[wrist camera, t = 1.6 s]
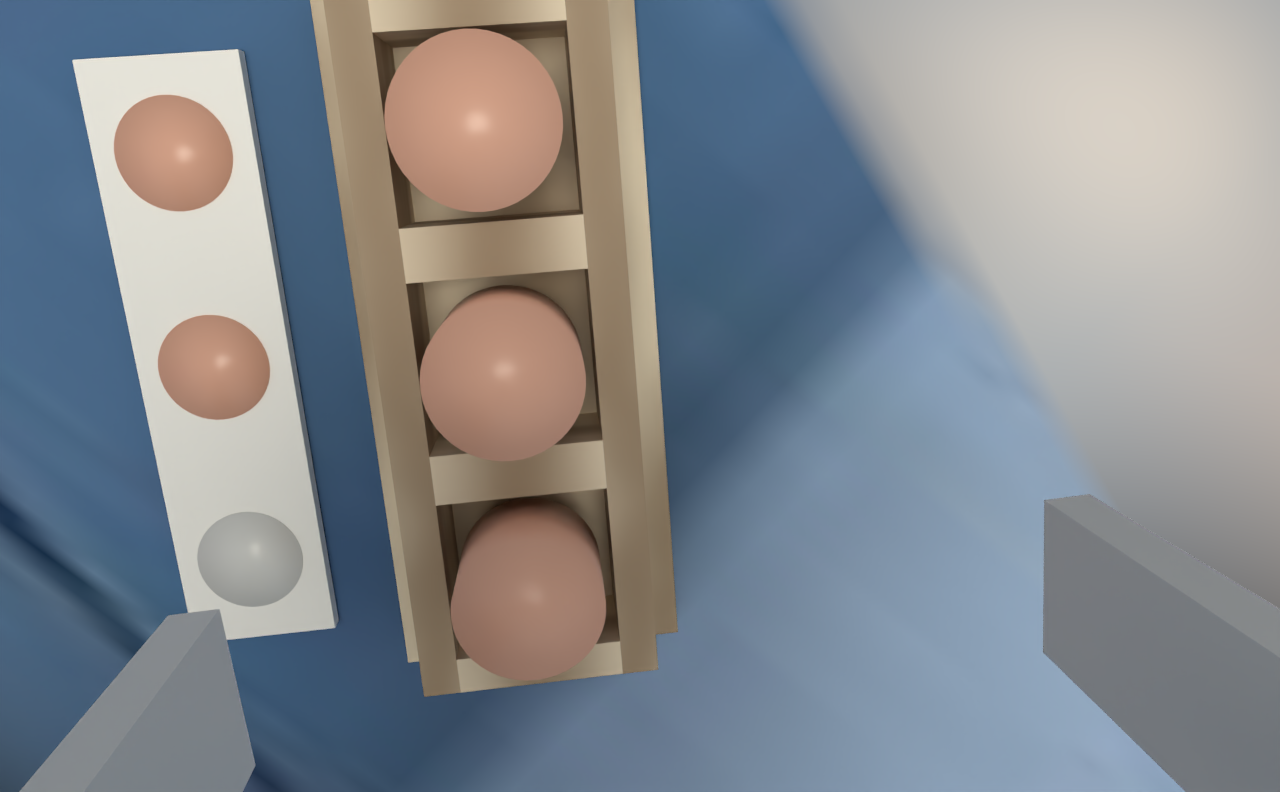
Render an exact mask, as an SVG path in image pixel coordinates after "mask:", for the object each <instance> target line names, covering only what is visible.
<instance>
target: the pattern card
mask: <svg viewBox="0 0 1280 792" xmlns="http://www.w3.org/2000/svg"><path fill="white" fill-rule="evenodd" d="M72 61H73V66H74V70H75V75H76V80H77V85H78V89H79V94H80V99H81V104H82V109H83V113H84V118H85V123H86V128H87V132H88V137H89V142H90V147H91V151H92V156H93V161H94V166H95V171H96V175H97V180H98V185H99V190H100V194H101V199H102V204H103V209H104V214H105V218H106V223H107V228H108V233H109V237H110V242H111V247H112V252H113V256H114V261H115V266H116V271H117V276H118V280H119V285H120V290H121V295H122V299H123V304H124V309H125V314H126V319H127V323H128V328H129V333H130V338H131V342H132V347H133V352H134V357H135V361H136V366H137V371H138V376H139V381H140V385H141V390H142V395H143V400H144V404H145V409H146V414H147V419H148V424H149V428H150V433H151V438H152V443H153V447H154V452H155V457H156V462H157V466H158V471H159V476H160V481H161V486H162V490H163V495H164V500H165V505H166V509H167V514H168V519H169V524H170V529H171V533H172V538H173V543H174V548H175V552H176V557H177V562H178V567H179V571H180V576H181V581H182V586H183V591H184V595H185V600H186V605H187V610H188V613H191V612H199V611H207V610H214V609H220V613H221V617H222V622H223V626H224V630H225V635H226V639H227V640H230V639H239V638H249V637H258V636H267V635H276V634H285V633H294V632H303V631H312V630H321V629H330V628H335V627H336V625H337V623H338V621H339V618H338V612H337V606H336V600H335V594H334V588H333V582H332V576H331V570H330V564H329V558H328V552H327V546H326V540H325V534H324V528H323V522H322V516H321V510H320V504H319V498H318V492H317V486H316V480H315V474H314V468H313V462H312V456H311V450H310V444H309V438H308V432H307V426H306V420H305V414H304V408H303V402H302V396H301V390H300V384H299V378H298V372H297V366H296V360H295V354H294V348H293V342H292V336H291V330H290V324H289V318H288V312H287V306H286V300H285V294H284V288H283V282H282V276H281V270H280V264H279V258H278V252H277V246H276V240H275V234H274V228H273V222H272V216H271V210H270V204H269V198H268V192H267V186H266V180H265V174H264V168H263V162H262V156H261V150H260V144H259V138H258V132H257V126H256V120H255V114H254V108H253V102H252V96H251V90H250V84H249V78H248V72H247V66H246V60H245V54H244V51H241V50H239V49H235V50H220V51H204V52H188V53H173V54H157V55H141V56H126V57H110V58H95V59H79V60H72Z"/></svg>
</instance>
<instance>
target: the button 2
mask: <svg viewBox="0 0 1280 792" xmlns="http://www.w3.org/2000/svg"><path fill="white" fill-rule="evenodd" d="M605 617H606V599H605V591H604V584H603V576H602V569H601V561H600V554H599V548H598V544H597V541H596V538H595V536H594V534H593V532H592V530H591V529H590V527H589V526H588V524H587V523H586V522H585V521H584V520H583V519H582V518H581V517H580V516H579V515H578V514H577V513H576V512H574V511H573V510H571V509H570V508H568V507H566V506H564V505H562V504H560V503H558V502H555V501H552V500H548V499H543V498H521V499H515V500H511V501H508V502H505V503H503V504H501V505H498V506H496V507H495V508H493V509H491V510H490V511H488V512H487V513H486V514H485V515H483V516H482V517H481V518H480V519H479V520H478V521H477V522H476V524H475V525H474V526H473V528H472V529H471V531H470V532H469V534H468V536H467V538H466V541H465V543H464V546H463V551H462V555H461V560H460V564H459V569H458V573H457V578H456V582H455V587H454V591H453V596H452V600H451V622H452V626H453V630H454V633H455V636H456V638H457V640H458V642H459V644H460V646H461V647H462V648H463V650H464V651H465V652H466V654H467V655H468V656H469V657H470V658H471V659H472V660H473V661H474V662H476V663H477V664H478V665H479V666H481V667H482V668H484V669H486V670H487V671H489V672H491V673H493V674H496V675H498V676H501V677H505V678H508V679H514V680H525V681H529V680H540V679H545V678H549V677H553V676H556V675H558V674H561V673H563V672H565V671H567V670H569V669H570V668H572V667H574V666H575V665H576V664H578V663H579V662H580V661H582V660H583V659H584V658H585V657H586V656H587V655H588V654H589V652H590V651H591V650H592V649H593V647H594V646H595V644H596V642H597V641H598V639H599V637H600V635H601V632H602V630H603V626H604V623H605Z"/></svg>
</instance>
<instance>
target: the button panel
mask: <svg viewBox="0 0 1280 792" xmlns="http://www.w3.org/2000/svg"><path fill="white" fill-rule="evenodd" d="M310 3H311V10H312V17H313V23H314V30H315V37H316V44H317V50H318V57H319V64H320V71H321V77H322V84H323V91H324V98H325V104H326V111H327V118H328V125H329V131H330V138H331V145H332V152H333V158H334V165H335V172H336V178H337V185H338V192H339V199H340V205H341V212H342V219H343V226H344V232H345V239H346V246H347V253H348V259H349V266H350V273H351V280H352V286H353V293H354V300H355V307H356V313H357V320H358V327H359V334H360V340H361V347H362V354H363V361H364V367H365V374H366V381H367V387H368V394H369V401H370V408H371V414H372V421H373V428H374V435H375V441H376V448H377V455H378V462H379V468H380V475H381V482H382V489H383V495H384V502H385V509H386V516H387V522H388V529H389V536H390V543H391V549H392V556H393V563H394V569H395V576H396V583H397V590H398V596H399V603H400V610H401V617H402V623H403V630H404V637H405V644H406V650H407V657H408V663H409V662H417V661H419V664H420V671H421V678H422V685H423V692H424V697H427V696H435V695H444V694H452V693H461V692H470V691H478V690H487V689H495V688H504V687H513V686H521V685H530V684H538V683H547V682H556V681H564V680H573V679H581V678H590V677H598V676H607V675H616V674H624V673H633V672H641V671H650V670H658V660H657V646H656V634H664V633H673V632H678V629H677V614H676V600H675V585H674V571H673V556H672V542H671V528H670V513H669V499H668V484H667V470H666V455H665V441H664V426H663V412H662V397H661V383H660V368H659V354H658V339H657V325H656V311H655V296H654V282H653V267H652V253H651V238H650V224H649V209H648V195H647V180H646V166H645V151H644V137H643V122H642V108H641V94H640V79H639V65H638V50H637V36H636V21H635V7H634V0H310ZM457 29H482V30H488V31H492V32H495V33H499V34H501V35H504V36H506V37H508V38H511V39H512V40H514V41H516V42H517V43H519V44H521V45H522V46H523V47H525V48H526V49H527V50H528V51H530V52H531V53H532V54H533V55H534V56H535V57H536V58H537V59H538V60H539V61H540V63H541V64H542V65H543V67H544V68H545V69H546V71H547V72H548V74H549V76H550V77H551V79H552V81H553V83H554V85H555V88H556V90H557V93H558V96H559V100H560V103H561V109H562V115H563V132H562V141H561V145H560V149H559V153H558V155H557V158H556V161H555V163H554V165H553V167H552V169H551V171H550V172H549V174H548V175H547V177H546V178H545V179H544V181H543V182H542V183H541V184H540V185H539V186H538V187H537V188H536V189H535V190H534V191H533V192H532V193H531V194H529V195H528V196H527V197H525V198H524V199H522V200H520V201H519V202H517V203H515V204H513V205H510V206H508V207H505V208H502V209H498V210H494V211H487V212H469V211H461V210H457V209H453V208H450V207H447V206H445V205H442V204H440V203H438V202H436V201H434V200H432V199H431V198H429V197H428V196H426V195H425V194H423V193H422V192H421V191H419V190H418V189H417V188H416V187H415V186H414V185H413V184H412V183H411V182H410V181H409V180H408V178H407V177H406V176H405V175H404V174H403V172H402V171H401V169H400V167H399V166H398V164H397V163H396V161H395V158H394V156H393V154H392V152H391V149H390V146H389V143H388V140H387V135H386V130H385V118H384V115H385V102H386V97H387V92H388V89H389V86H390V83H391V81H392V79H393V77H394V75H395V72H396V70H397V69H398V68H399V66H400V65H401V63H402V62H403V60H404V59H405V58H406V57H407V56H408V55H409V54H410V53H411V52H412V51H413V50H414V49H415V48H416V47H418V46H419V45H420V44H421V43H423V42H425V41H426V40H428V39H430V38H432V37H434V36H436V35H438V34H441V33H444V32H448V31H451V30H457ZM499 285H514V286H522V287H526V288H530V289H532V290H535V291H538V292H540V293H542V294H543V295H545V296H547V297H549V298H550V299H551V300H553V301H554V302H555V303H557V304H558V305H559V306H560V307H561V308H562V309H563V310H564V312H565V313H566V314H567V315H568V317H569V318H570V320H571V321H572V323H573V325H574V327H575V329H576V331H577V334H578V337H579V341H580V345H581V351H582V356H583V362H584V367H585V374H586V390H585V397H584V401H583V405H582V408H581V410H580V413H579V415H578V417H577V419H576V421H575V423H574V424H573V426H572V427H571V428H570V430H569V431H568V432H567V433H566V434H565V436H564V437H563V438H562V439H561V440H560V441H558V442H557V443H556V444H554V445H553V446H552V447H550V448H549V449H547V450H545V451H544V452H542V453H539V454H537V455H535V456H532V457H529V458H525V459H521V460H515V461H492V460H487V459H482V458H479V457H476V456H473V455H470V454H468V453H466V452H464V451H462V450H460V449H459V448H457V447H456V446H454V445H453V444H451V443H450V442H449V441H448V440H447V439H446V438H444V437H443V435H442V434H441V433H440V432H439V431H438V430H437V429H436V427H435V426H434V424H433V423H432V421H431V420H430V418H429V416H428V414H427V412H426V409H425V407H424V404H423V401H422V396H421V391H420V369H421V364H422V359H423V356H424V354H425V351H426V348H427V346H428V344H429V343H430V341H431V339H432V337H433V336H434V334H435V333H436V331H437V330H438V329H439V327H440V326H441V324H442V323H443V321H444V320H445V318H446V317H447V315H448V314H449V313H450V311H451V310H452V309H453V308H454V307H455V306H456V305H457V304H458V303H459V302H461V301H462V300H463V299H464V298H466V297H468V296H469V295H471V294H472V293H475V292H477V291H479V290H482V289H485V288H488V287H493V286H499ZM521 498H543V499H548V500H552V501H555V502H558V503H560V504H562V505H564V506H566V507H568V508H570V509H571V510H573V511H574V512H576V513H577V514H578V515H579V516H580V517H581V518H582V519H583V520H584V521H585V522H586V523H587V524H588V526H589V527H590V529H591V530H592V532H593V534H594V536H595V538H596V541H597V544H598V548H599V554H600V561H601V569H602V576H603V584H604V591H605V599H606V617H605V623H604V626H603V630H602V632H601V635H600V637H599V639H598V641H597V642H596V644H595V646H594V647H593V649H592V650H591V651H590V652H589V654H588V655H587V656H586V657H585V658H584V659H583V660H582V661H580V662H579V663H578V664H576V665H575V666H574V667H572V668H570V669H569V670H567V671H565V672H563V673H561V674H558V675H556V676H553V677H549V678H545V679H540V680H529V681H525V680H514V679H508V678H505V677H501V676H498V675H496V674H493V673H491V672H489V671H487V670H486V669H484V668H482V667H481V666H479V665H478V664H477V663H476V662H474V661H473V660H472V659H471V658H470V657H469V656H468V655H467V654H466V652H465V651H464V650H463V648H462V647H461V646H460V644H459V642H458V640H457V638H456V636H455V633H454V630H453V626H452V622H451V600H452V596H453V591H454V587H455V582H456V578H457V573H458V569H459V564H460V560H461V555H462V551H463V546H464V543H465V541H466V538H467V536H468V534H469V532H470V531H471V529H472V528H473V526H474V525H475V524H476V522H477V521H478V520H479V519H480V518H481V517H482V516H483V515H485V514H486V513H487V512H488V511H490V510H491V509H493V508H495V507H496V506H498V505H501V504H503V503H505V502H508V501H511V500H515V499H521Z"/></svg>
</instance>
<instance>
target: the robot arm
mask: <svg viewBox="0 0 1280 792" xmlns="http://www.w3.org/2000/svg"><path fill="white" fill-rule="evenodd" d="M1043 653H1044V654H1045V655H1046V656H1047V657H1048V658H1049V659H1051V660H1052V661H1053V662H1054V663H1055V664H1056V665H1057V666H1058V667H1059V668H1060V669H1061V670H1062V671H1063V672H1064V673H1065V674H1066V675H1067V676H1068V677H1069V678H1070V679H1071V680H1072V681H1073V682H1074V683H1075V684H1076V685H1077V686H1078V687H1079V688H1080V689H1081V690H1082V691H1083V692H1084V693H1085V694H1086V695H1087V696H1088V697H1089V698H1090V699H1091V700H1092V701H1093V702H1095V703H1096V704H1097V705H1098V706H1099V707H1100V708H1101V709H1102V710H1103V711H1104V712H1105V713H1106V714H1107V715H1108V716H1109V717H1110V718H1111V719H1112V720H1113V721H1114V722H1115V723H1116V724H1117V725H1118V726H1119V727H1120V728H1121V729H1122V730H1123V731H1124V732H1125V733H1126V734H1127V735H1128V736H1129V737H1130V738H1131V739H1132V740H1133V741H1134V742H1135V743H1136V744H1137V745H1138V746H1140V747H1141V748H1142V749H1143V750H1144V751H1145V752H1146V753H1147V754H1148V755H1149V756H1150V757H1151V758H1152V759H1153V760H1154V761H1155V762H1156V763H1157V764H1158V765H1159V766H1160V767H1161V768H1162V769H1163V770H1164V771H1165V772H1166V773H1167V774H1168V775H1169V776H1170V777H1171V778H1172V779H1173V780H1174V781H1175V782H1176V783H1177V784H1178V785H1179V786H1180V787H1181V788H1182V789H1184V790H1185V791H1186V792H1280V609H1279V608H1277V607H1276V606H1274V605H1272V604H1271V603H1269V602H1268V601H1266V600H1264V599H1263V598H1261V597H1259V596H1258V595H1256V594H1254V593H1253V592H1251V591H1249V590H1248V589H1246V588H1244V587H1242V586H1241V585H1239V584H1238V583H1236V582H1234V581H1233V580H1231V579H1229V578H1227V577H1226V576H1224V575H1223V574H1221V573H1219V572H1218V571H1216V570H1214V569H1213V568H1211V567H1209V566H1208V565H1206V564H1204V563H1203V562H1201V561H1199V560H1198V559H1196V558H1195V557H1193V556H1191V555H1190V554H1188V553H1186V552H1184V551H1183V550H1181V549H1180V548H1178V547H1176V546H1175V545H1173V544H1171V543H1170V542H1168V541H1166V540H1165V539H1163V538H1161V537H1160V536H1158V535H1156V534H1155V533H1153V532H1151V531H1150V530H1148V529H1146V528H1145V527H1143V526H1141V525H1140V524H1138V523H1136V522H1135V521H1133V520H1131V519H1130V518H1128V517H1126V516H1125V515H1123V514H1121V513H1120V512H1118V511H1117V510H1115V509H1113V508H1112V507H1110V506H1108V505H1107V504H1105V503H1103V502H1102V501H1100V500H1098V499H1097V498H1095V497H1093V496H1092V495H1090V494H1087V495H1080V496H1072V497H1065V498H1057V499H1049V500H1044V605H1043ZM254 767H255V761H254V757H253V752H252V748H251V743H250V739H249V735H248V730H247V726H246V722H245V717H244V713H243V709H242V704H241V700H240V696H239V691H238V687H237V683H236V678H235V674H234V670H233V665H232V661H231V657H230V652H229V648H228V644H227V639H226V635H225V630H224V626H223V622H222V617H221V613H220V609H214V610H207V611H199V612H191V613H184V614H176V615H169V616H167V617H166V619H165V620H164V621H163V622H162V623H161V625H160V626H159V627H158V628H157V629H156V630H155V632H154V633H153V634H152V635H151V636H150V638H149V639H148V640H147V641H146V642H145V644H144V645H143V646H142V647H141V648H140V649H139V651H138V652H137V653H136V654H135V655H134V657H133V658H132V659H131V660H130V661H129V662H128V664H127V665H126V666H125V667H124V668H123V670H122V671H121V672H120V673H119V674H118V675H117V677H116V678H115V679H114V680H113V681H112V683H111V684H110V685H109V686H108V687H107V688H106V690H105V691H104V692H103V693H102V694H101V696H100V697H99V698H98V699H97V700H96V702H95V703H94V704H93V705H92V706H91V707H90V709H89V710H88V711H87V712H86V713H85V715H84V716H83V717H82V718H81V719H80V720H79V722H78V723H77V724H76V725H75V726H74V728H73V729H72V730H71V731H70V732H69V733H68V735H67V736H66V737H65V738H64V739H63V741H62V742H61V743H60V744H59V745H58V746H57V748H56V749H55V750H54V751H53V752H52V754H51V755H50V756H49V757H48V758H47V760H46V761H45V762H44V763H43V764H42V765H41V767H40V768H39V769H38V770H37V771H36V773H35V774H34V775H33V776H32V777H31V778H30V780H29V781H28V782H27V783H26V784H25V786H24V787H23V788H22V789H21V790H20V791H19V792H243V790H244V788H245V786H246V784H247V782H248V780H249V778H250V776H251V773H252V771H253V769H254Z"/></svg>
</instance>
